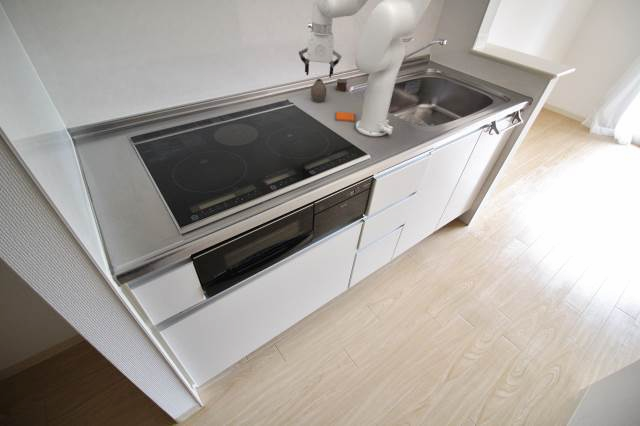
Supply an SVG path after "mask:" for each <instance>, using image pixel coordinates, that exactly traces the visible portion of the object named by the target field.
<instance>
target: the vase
mask: <svg viewBox="0 0 640 426" xmlns="http://www.w3.org/2000/svg"><path fill="white" fill-rule="evenodd" d="M310 96H311V99H312V100H313V102H316V103H321V102H323V101H324V100H325V99H326V97H327V87H326V85H325V83H324V82H323V79H321V78H317V79H316V80H315V82H314V83H313V84H312V85H311V88H310Z"/></svg>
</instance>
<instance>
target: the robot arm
mask: <svg viewBox="0 0 640 426" xmlns="http://www.w3.org/2000/svg"><path fill="white" fill-rule="evenodd" d="M368 1H369V0H312V2H313V3H312V19H311V21H312V22H310V23H308V24H307V25H308V26H307V28H310V29H311V30H310V31H309V34H308V39H307V40H308V41H307V47H305V48H302V49H301V50H298V55H299V58H300V60H301V61H302V63H303V64H304V73H306V76H308V75H309V74H310V73H309V72H310V62H314V63H324V64H329V75H328V77H329V78H332V76H334V68H335V67H336V66H337V65H338V64H339V62H340V61H341V59H342V56H343V55H342V54H340V53H339V52H338V51H336V50H335V49H334V43H335V41H334V33H333V32H332V30H333V29H332V28H333V19H336V18H337V19H339V18H343V17H345V18H346V17H351V16H355V15H356V14H357V13H358V12H359V11H361V9H363V7H364V6H365V5H366V4H367V2H368ZM431 2H432V0H382V1H380V2H378V3H377V5H376V6H375V7H374V9H372V11H371V13H370V15H369V16H368V19H367V22H366V24H365V26H364V29H363V32H362V34H361V36H360V39H359V41H358V43H357V46H356V49H355V53H354V62H355V66H356V68H357V70H358V71H359V72H361V73H362V74H368V77H367V80H366V87H365V92H364V97H363V104H362V110H361V116H360V119H359V120H358V121H356V123H355V130H357V132H359V134H360V133H361V134H362V135H365V136H368V137H382V136H385V135H387V134H388V135H392V133H393V131H394V127H393V126H392V125H389V122H390V120H389V119H387V118H388V114H389V109H390V106H391V102H392V98H393V93H394V89H395V85H396V81H397V77H398V75H399V72H400V69H401V66H402V64H403V62H404V58H405V54H406V46H405V43H404V41H403V40H402V39H401V38H404V37H407V36H409V35H411V34H413V32H414V31H415V30H416V29H417V27H418V25H419V24H420V21H421V20H422V18H423V17H424V14H425V13H426V10H427V9H428V7H429V5H430V4H431ZM305 53H306V57H305V56H304V54H305ZM333 56H335V57H336V59H335V60H333Z"/></svg>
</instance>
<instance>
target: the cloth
mask: <svg viewBox="0 0 640 426" xmlns="http://www.w3.org/2000/svg"><path fill="white" fill-rule="evenodd" d="M335 114H336V115H335V117H336V118H335V120H336V121H342V122H343V121H344V122H355V113H354V112H345V111H336V113H335Z"/></svg>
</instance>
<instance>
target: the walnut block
mask: <svg viewBox="0 0 640 426" xmlns="http://www.w3.org/2000/svg"><path fill="white" fill-rule="evenodd" d="M347 84H348V80H347V79H345V78H337V80H336V91H337V92H346V91H347Z"/></svg>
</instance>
